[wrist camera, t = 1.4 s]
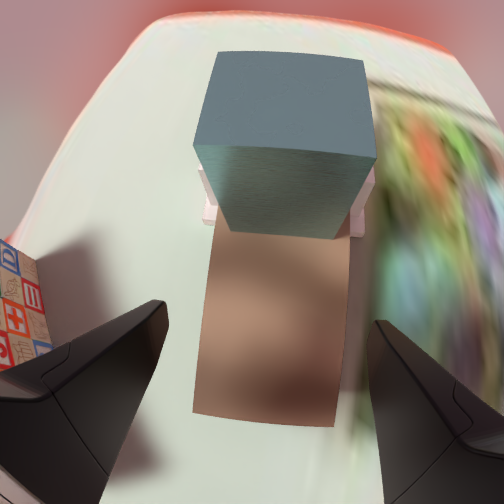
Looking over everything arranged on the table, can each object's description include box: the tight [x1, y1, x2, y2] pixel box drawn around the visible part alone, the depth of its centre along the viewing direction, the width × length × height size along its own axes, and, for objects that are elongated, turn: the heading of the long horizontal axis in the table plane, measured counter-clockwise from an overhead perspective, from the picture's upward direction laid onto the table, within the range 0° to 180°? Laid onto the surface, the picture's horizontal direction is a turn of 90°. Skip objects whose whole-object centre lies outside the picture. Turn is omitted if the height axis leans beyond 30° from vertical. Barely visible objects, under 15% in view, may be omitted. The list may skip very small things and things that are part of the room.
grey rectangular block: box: [193, 51, 377, 240], centre depth 14 cm, size 5×6×9 cm
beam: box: [192, 204, 350, 427], centre depth 21 cm, size 25×9×5 cm, turn 173°
